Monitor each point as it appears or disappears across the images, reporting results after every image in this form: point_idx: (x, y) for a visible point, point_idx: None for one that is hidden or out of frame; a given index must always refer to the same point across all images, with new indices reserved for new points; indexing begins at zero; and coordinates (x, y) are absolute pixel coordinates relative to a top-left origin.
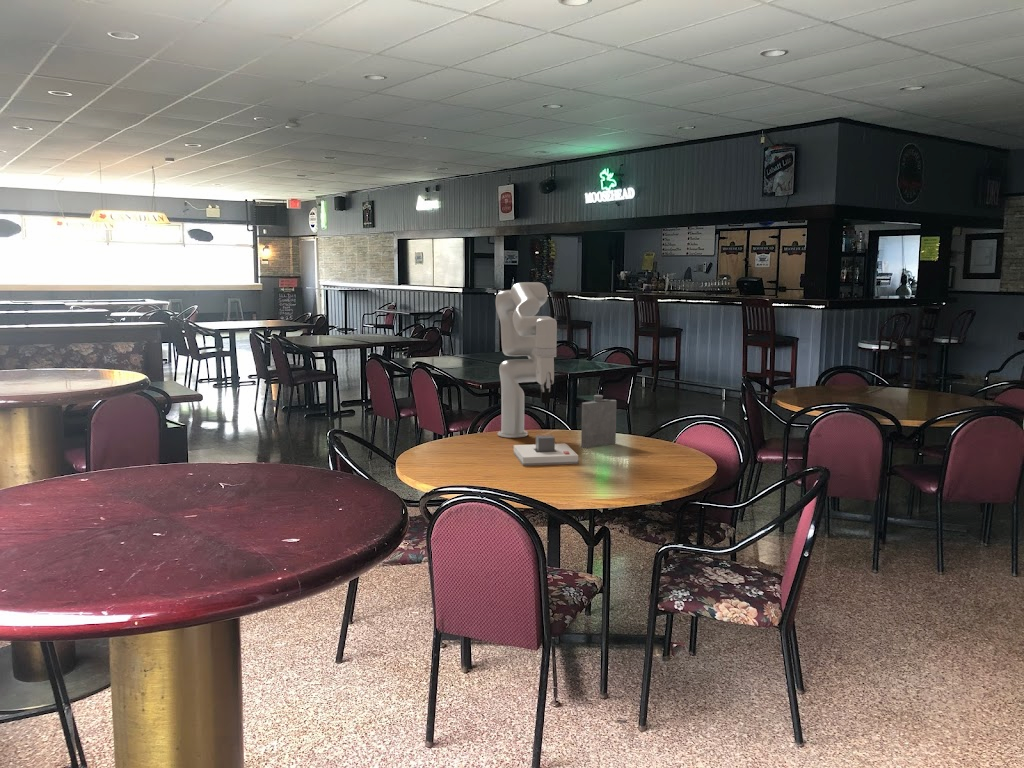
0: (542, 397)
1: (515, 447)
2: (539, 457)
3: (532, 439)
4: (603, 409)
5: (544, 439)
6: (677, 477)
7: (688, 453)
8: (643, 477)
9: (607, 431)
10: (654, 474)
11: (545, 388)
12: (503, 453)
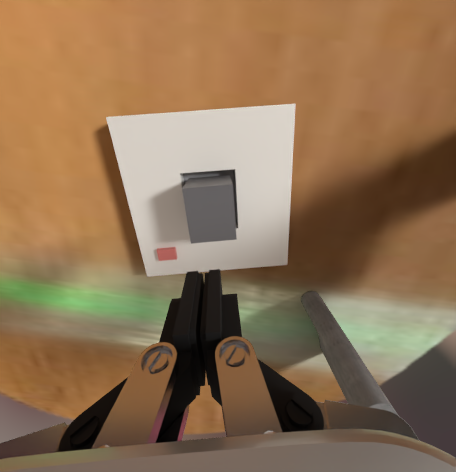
0: (183, 303)
1: (257, 106)
2: (121, 174)
3: (441, 189)
4: None
5: (186, 208)
6: (66, 392)
7: None
8: (53, 354)
9: (332, 363)
10: (80, 370)
11: (78, 421)
12: (287, 67)
